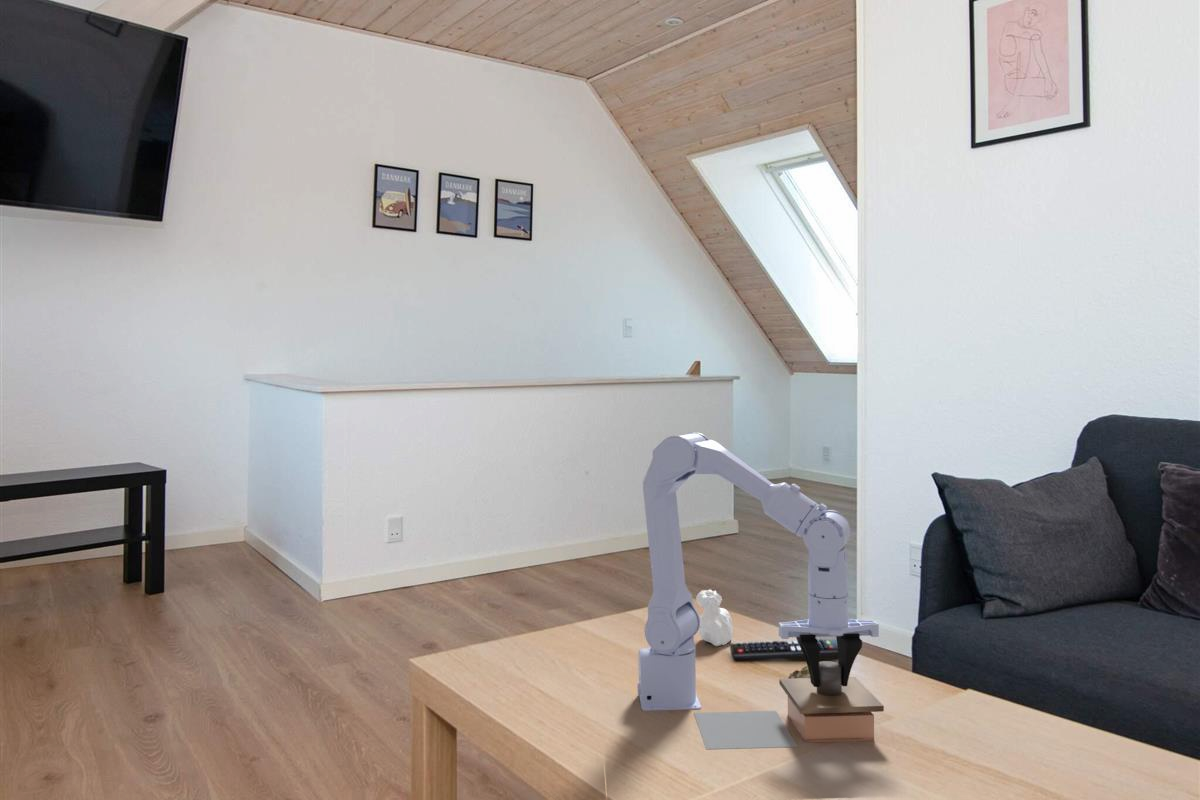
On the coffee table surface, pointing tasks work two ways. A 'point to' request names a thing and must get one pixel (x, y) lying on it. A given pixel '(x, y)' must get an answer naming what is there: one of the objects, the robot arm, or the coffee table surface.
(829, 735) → the peach square box
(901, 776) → the coffee table surface
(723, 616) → the bust
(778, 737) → the rubber mat
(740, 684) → the coffee table surface
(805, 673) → the mineral rock
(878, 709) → the walnut lid
